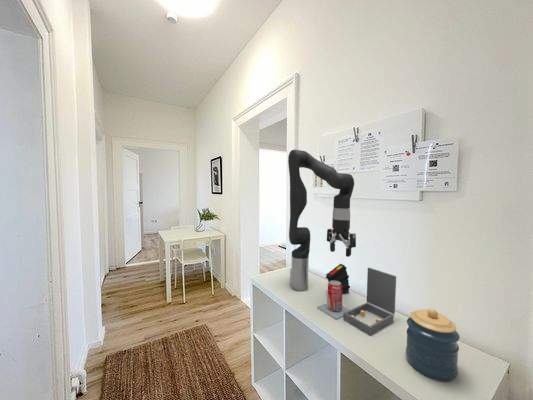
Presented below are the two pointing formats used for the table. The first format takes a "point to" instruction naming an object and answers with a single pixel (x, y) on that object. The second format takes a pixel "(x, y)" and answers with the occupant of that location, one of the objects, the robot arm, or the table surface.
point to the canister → (432, 344)
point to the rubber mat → (331, 313)
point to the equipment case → (375, 302)
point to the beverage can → (334, 296)
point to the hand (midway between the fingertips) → (340, 253)
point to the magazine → (340, 277)
